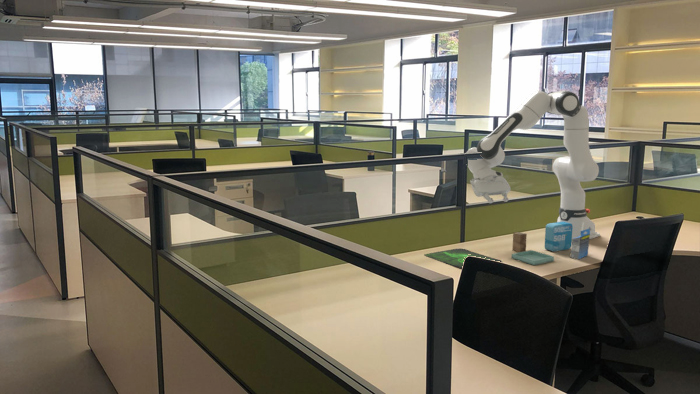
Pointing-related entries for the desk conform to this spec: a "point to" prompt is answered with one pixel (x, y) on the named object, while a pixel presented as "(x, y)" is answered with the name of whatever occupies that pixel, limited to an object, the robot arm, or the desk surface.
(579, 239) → the label tape box
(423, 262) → the desk surface
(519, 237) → the walnut block
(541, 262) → the teal tray
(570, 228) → the blue soap box
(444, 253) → the mouse mat
